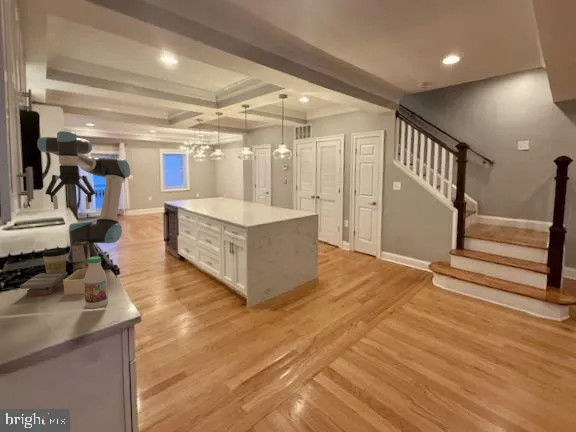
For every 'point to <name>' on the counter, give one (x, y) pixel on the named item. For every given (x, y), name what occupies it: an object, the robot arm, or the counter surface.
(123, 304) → the counter surface
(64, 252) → the coffee cup
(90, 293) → the milk bottle
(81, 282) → the tub
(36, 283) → the lid
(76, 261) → the coffee box
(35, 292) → the stand
